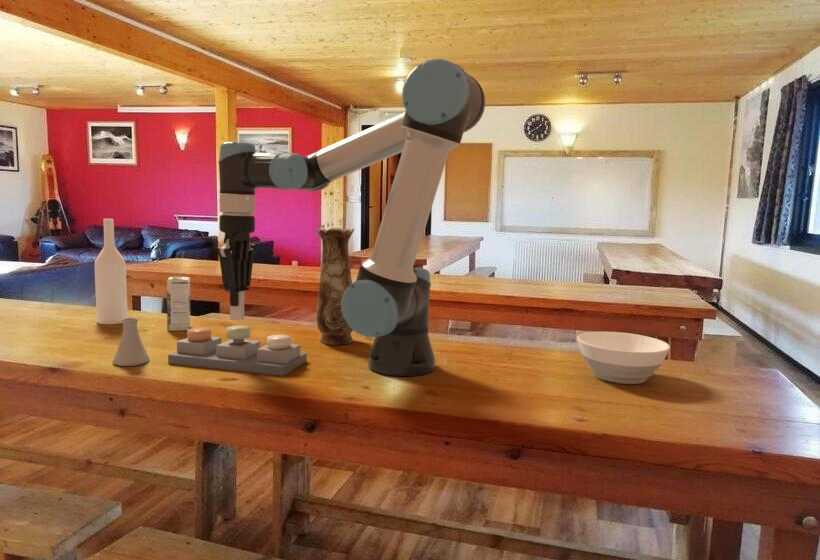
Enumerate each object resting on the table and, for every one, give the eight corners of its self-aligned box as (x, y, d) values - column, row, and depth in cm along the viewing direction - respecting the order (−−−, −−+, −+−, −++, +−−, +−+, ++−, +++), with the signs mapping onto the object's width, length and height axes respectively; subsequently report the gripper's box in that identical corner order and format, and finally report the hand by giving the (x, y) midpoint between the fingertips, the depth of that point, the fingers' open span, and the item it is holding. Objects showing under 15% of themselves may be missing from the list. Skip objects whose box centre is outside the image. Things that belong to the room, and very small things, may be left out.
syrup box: (168, 327, 168) (167, 276, 166) (191, 326, 170) (190, 276, 168) (167, 331, 163) (165, 279, 161) (190, 330, 165) (188, 279, 163)
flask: (135, 368, 128) (133, 323, 126) (105, 365, 129) (103, 320, 128) (155, 359, 135) (154, 316, 133) (127, 357, 136) (126, 314, 135)
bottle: (123, 318, 178) (120, 218, 174) (131, 322, 172) (127, 219, 168) (93, 320, 173) (89, 218, 169) (100, 325, 167) (96, 219, 163)
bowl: (672, 374, 135) (675, 339, 134) (659, 397, 119) (663, 357, 118) (586, 360, 145) (588, 327, 144) (564, 380, 129) (566, 343, 127)
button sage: (254, 344, 136) (254, 326, 135) (243, 349, 131) (242, 331, 130) (234, 342, 137) (234, 324, 137) (222, 347, 132) (221, 329, 132)
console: (306, 361, 137) (306, 342, 136) (283, 375, 125) (283, 355, 125) (199, 350, 144) (199, 332, 143) (168, 363, 132) (167, 343, 131)
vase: (339, 348, 150) (340, 229, 146) (307, 341, 156) (307, 227, 152) (363, 340, 159) (365, 228, 155) (332, 334, 165) (333, 226, 161)
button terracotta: (215, 346, 138) (215, 328, 138) (203, 351, 133) (202, 333, 133) (196, 344, 140) (196, 326, 139) (182, 349, 135) (182, 331, 134)
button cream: (294, 354, 134) (294, 335, 133) (284, 359, 129) (284, 341, 128) (273, 352, 135) (273, 333, 134) (262, 357, 130) (262, 339, 129)
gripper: (237, 213, 137) (237, 312, 140) (205, 214, 125) (205, 323, 128) (266, 214, 135) (266, 315, 139) (237, 215, 123) (237, 326, 126)
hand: (237, 319), depth 133 cm, fingers closed
